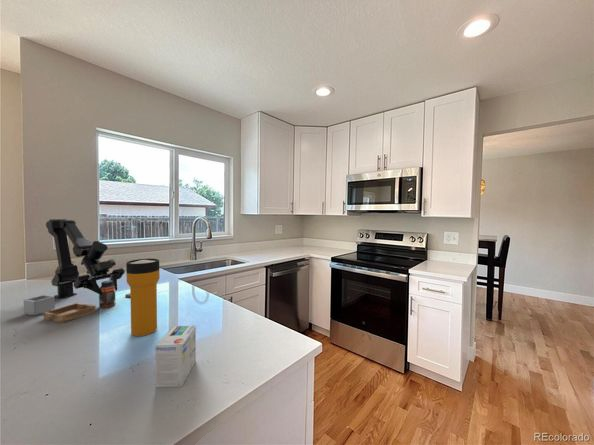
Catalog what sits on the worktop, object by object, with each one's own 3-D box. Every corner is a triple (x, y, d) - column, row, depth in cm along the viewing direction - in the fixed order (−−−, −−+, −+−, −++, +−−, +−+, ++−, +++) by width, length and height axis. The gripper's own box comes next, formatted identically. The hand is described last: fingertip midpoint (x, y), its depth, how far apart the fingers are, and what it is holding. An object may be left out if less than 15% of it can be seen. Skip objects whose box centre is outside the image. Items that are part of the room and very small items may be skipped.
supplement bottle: (118, 304, 115) (118, 280, 115) (107, 308, 109) (107, 283, 109) (107, 303, 116) (106, 279, 115) (95, 308, 110) (95, 283, 110)
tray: (43, 318, 99) (43, 312, 99) (77, 308, 110) (77, 302, 110) (63, 323, 95) (62, 316, 95) (95, 311, 106) (95, 305, 106)
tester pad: (125, 297, 125) (125, 293, 125) (134, 293, 130) (134, 290, 130) (137, 298, 122) (137, 295, 122) (146, 295, 127) (146, 292, 127)
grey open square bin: (23, 314, 103) (23, 299, 103) (44, 307, 110) (44, 294, 110) (34, 316, 101) (33, 301, 101) (55, 309, 108) (54, 296, 107)
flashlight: (119, 261, 85) (145, 256, 94) (120, 335, 86) (146, 323, 95) (140, 263, 82) (165, 258, 91) (141, 340, 83) (166, 327, 92)
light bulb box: (172, 362, 71) (172, 325, 71) (196, 361, 72) (196, 324, 71) (154, 388, 60) (153, 345, 60) (182, 387, 61) (182, 344, 61)
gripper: (76, 257, 105) (92, 286, 101) (122, 251, 122) (137, 276, 118) (66, 274, 108) (81, 303, 104) (112, 266, 125) (127, 290, 121)
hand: (109, 292), depth 112 cm, fingers closed on supplement bottle, 6 cm apart
